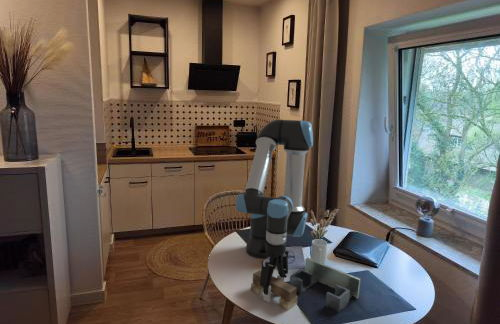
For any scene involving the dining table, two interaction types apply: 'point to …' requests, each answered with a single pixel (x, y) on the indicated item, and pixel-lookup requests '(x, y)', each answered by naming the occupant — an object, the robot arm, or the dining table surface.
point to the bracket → (327, 283)
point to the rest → (282, 302)
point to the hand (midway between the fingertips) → (273, 296)
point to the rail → (277, 287)
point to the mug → (319, 250)
